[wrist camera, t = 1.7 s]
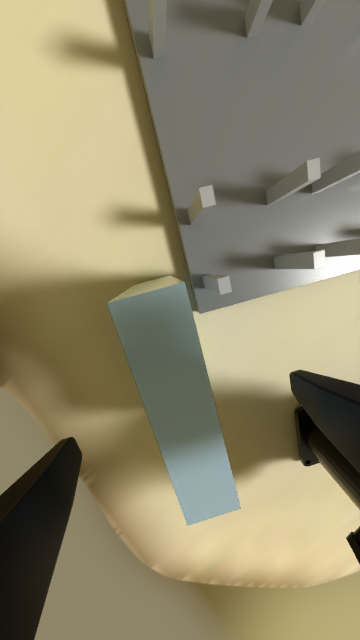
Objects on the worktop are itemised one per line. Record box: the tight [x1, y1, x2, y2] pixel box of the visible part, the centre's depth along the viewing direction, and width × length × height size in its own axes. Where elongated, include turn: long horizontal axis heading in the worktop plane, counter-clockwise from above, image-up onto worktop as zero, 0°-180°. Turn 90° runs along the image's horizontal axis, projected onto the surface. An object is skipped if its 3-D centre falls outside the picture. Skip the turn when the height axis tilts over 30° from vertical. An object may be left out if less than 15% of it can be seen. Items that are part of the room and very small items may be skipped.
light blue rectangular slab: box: [107, 275, 241, 526], centre depth 11 cm, size 10×2×8 cm, turn 15°
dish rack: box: [123, 0, 360, 314], centre depth 10 cm, size 20×15×4 cm
